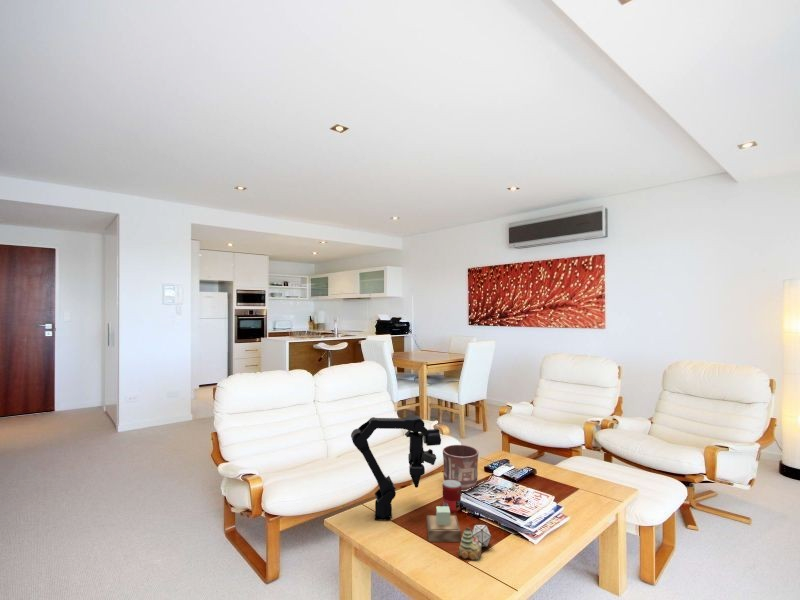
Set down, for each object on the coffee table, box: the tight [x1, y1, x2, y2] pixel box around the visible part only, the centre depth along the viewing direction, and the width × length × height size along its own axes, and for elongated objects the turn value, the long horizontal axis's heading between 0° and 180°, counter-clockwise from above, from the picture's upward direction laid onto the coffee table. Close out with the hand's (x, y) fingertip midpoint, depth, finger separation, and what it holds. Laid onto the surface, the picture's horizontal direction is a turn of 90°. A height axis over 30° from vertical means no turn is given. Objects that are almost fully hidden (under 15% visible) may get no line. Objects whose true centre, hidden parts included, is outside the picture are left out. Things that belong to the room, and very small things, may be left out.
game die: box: [471, 522, 494, 549], centre depth 160 cm, size 9×8×10 cm
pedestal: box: [426, 514, 462, 543], centre depth 169 cm, size 12×12×4 cm
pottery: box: [442, 444, 479, 490], centre depth 212 cm, size 18×18×18 cm
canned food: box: [442, 480, 462, 513], centre depth 190 cm, size 8×8×11 cm
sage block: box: [435, 505, 451, 525], centre depth 169 cm, size 5×5×5 cm
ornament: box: [458, 526, 482, 561], centre depth 154 cm, size 8×6×10 cm
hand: (416, 482), depth 185 cm, fingers open, 9 cm apart
